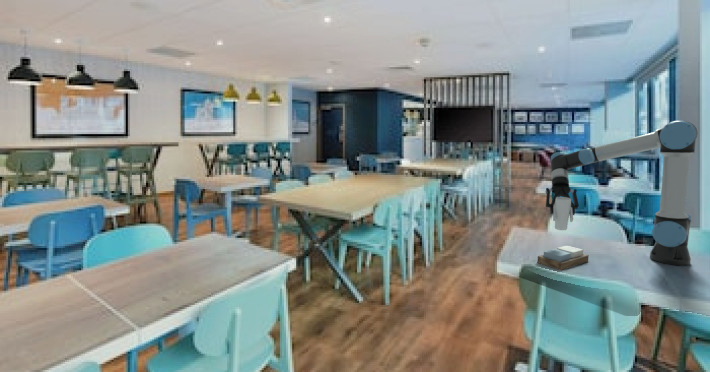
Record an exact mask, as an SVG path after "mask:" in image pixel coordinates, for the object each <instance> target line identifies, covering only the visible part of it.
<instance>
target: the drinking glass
mask: <svg viewBox="0 0 710 372" xmlns="http://www.w3.org/2000/svg"><path fill="white" fill-rule="evenodd" d="M571 200H572V198H571V197H570V198H567V197H562V196H559V197H558V196H557V197H556V199H555V203H554V206H555V211H556V219H555V221H554V228H555V230H558V231H567V229H568V225H569V221H570V209H571Z"/></svg>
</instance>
